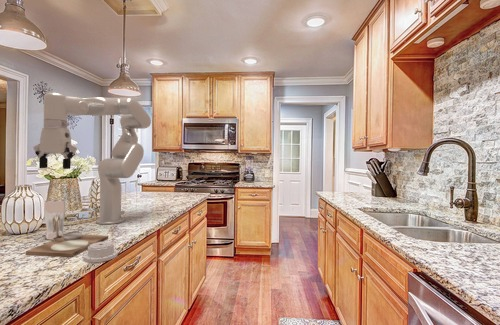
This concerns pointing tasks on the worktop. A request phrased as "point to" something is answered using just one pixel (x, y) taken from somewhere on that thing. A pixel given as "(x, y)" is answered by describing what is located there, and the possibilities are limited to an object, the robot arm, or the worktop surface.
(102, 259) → the mechanical component
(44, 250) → the carrier plate
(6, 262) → the worktop surface
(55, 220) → the beer glass
